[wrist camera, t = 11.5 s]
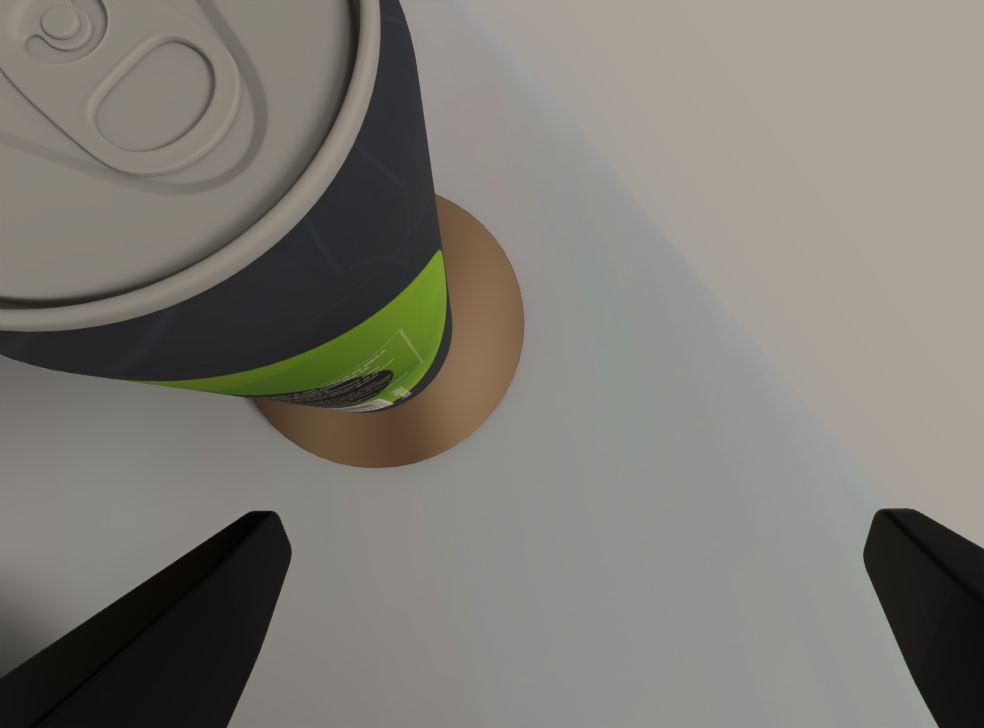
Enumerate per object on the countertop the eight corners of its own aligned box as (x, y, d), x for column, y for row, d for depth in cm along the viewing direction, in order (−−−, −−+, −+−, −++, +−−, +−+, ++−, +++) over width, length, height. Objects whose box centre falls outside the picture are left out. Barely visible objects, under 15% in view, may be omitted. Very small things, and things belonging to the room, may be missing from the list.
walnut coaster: (299, 511, 19) (291, 515, 18) (204, 250, 20) (193, 243, 19) (565, 401, 20) (569, 400, 19) (460, 155, 21) (460, 144, 20)
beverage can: (486, 317, 20) (544, -34, 5) (382, 447, 19) (58, 522, 4) (359, 220, 20) (33, -407, 5) (252, 344, 19) (-524, 44, 4)
